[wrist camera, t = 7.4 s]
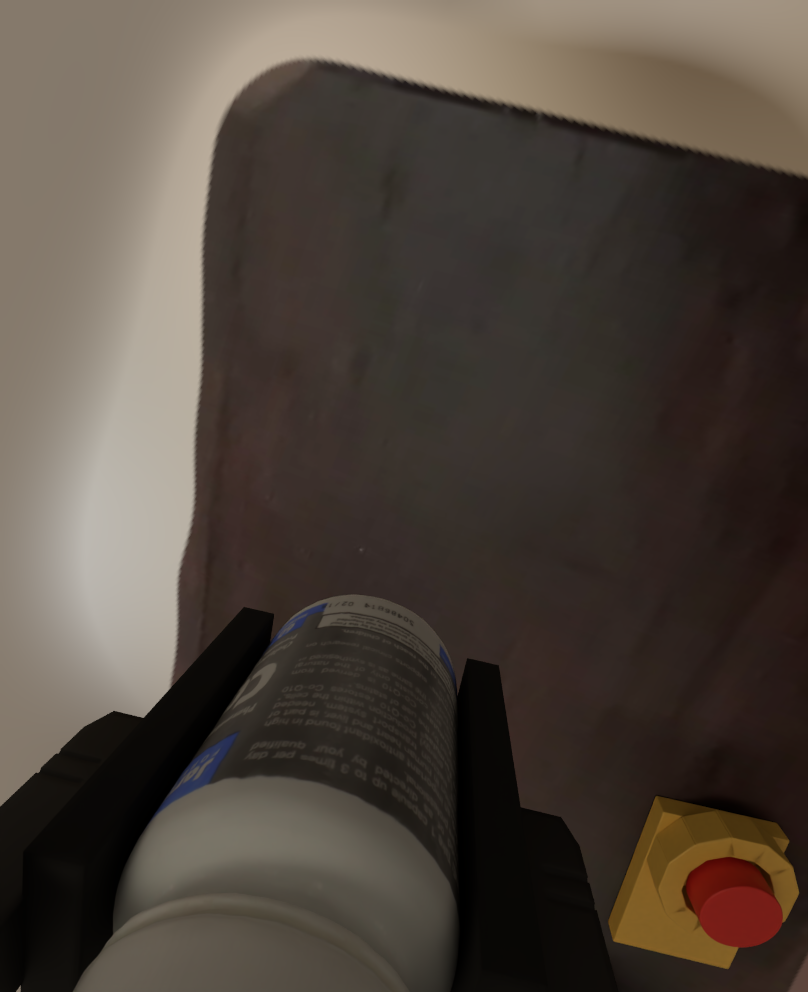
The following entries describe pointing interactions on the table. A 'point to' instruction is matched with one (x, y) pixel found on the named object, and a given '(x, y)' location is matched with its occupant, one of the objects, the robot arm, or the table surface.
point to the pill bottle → (307, 825)
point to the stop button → (734, 902)
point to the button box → (667, 864)
